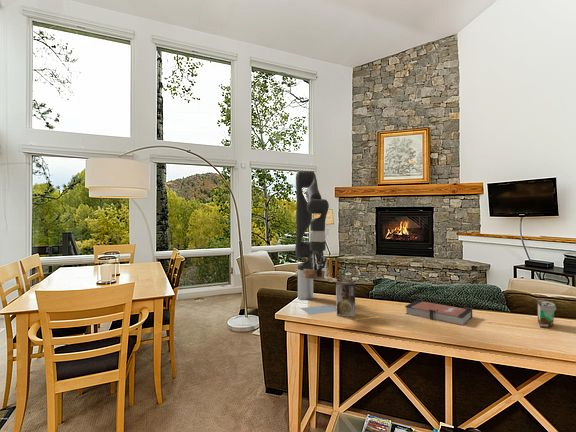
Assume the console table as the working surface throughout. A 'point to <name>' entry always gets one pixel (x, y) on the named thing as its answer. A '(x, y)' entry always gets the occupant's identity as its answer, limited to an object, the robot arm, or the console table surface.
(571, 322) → the console table surface
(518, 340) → the console table surface
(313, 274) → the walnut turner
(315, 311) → the slate mat
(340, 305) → the coffee box
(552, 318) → the food container
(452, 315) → the book
